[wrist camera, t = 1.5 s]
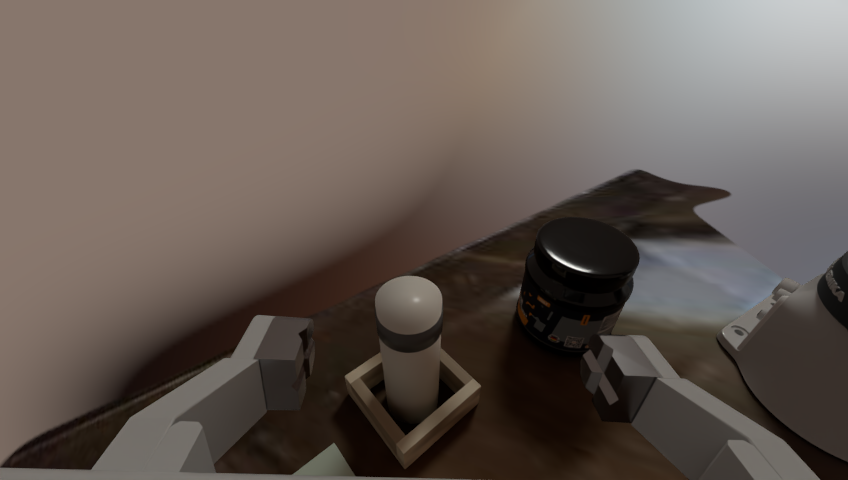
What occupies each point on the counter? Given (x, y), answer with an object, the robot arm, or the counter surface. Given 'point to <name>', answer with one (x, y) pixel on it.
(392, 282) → the white capsule post
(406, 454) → the square wooden frame
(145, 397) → the counter surface
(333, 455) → the mat
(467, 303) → the counter surface
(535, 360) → the counter surface
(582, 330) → the supplement container
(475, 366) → the counter surface
